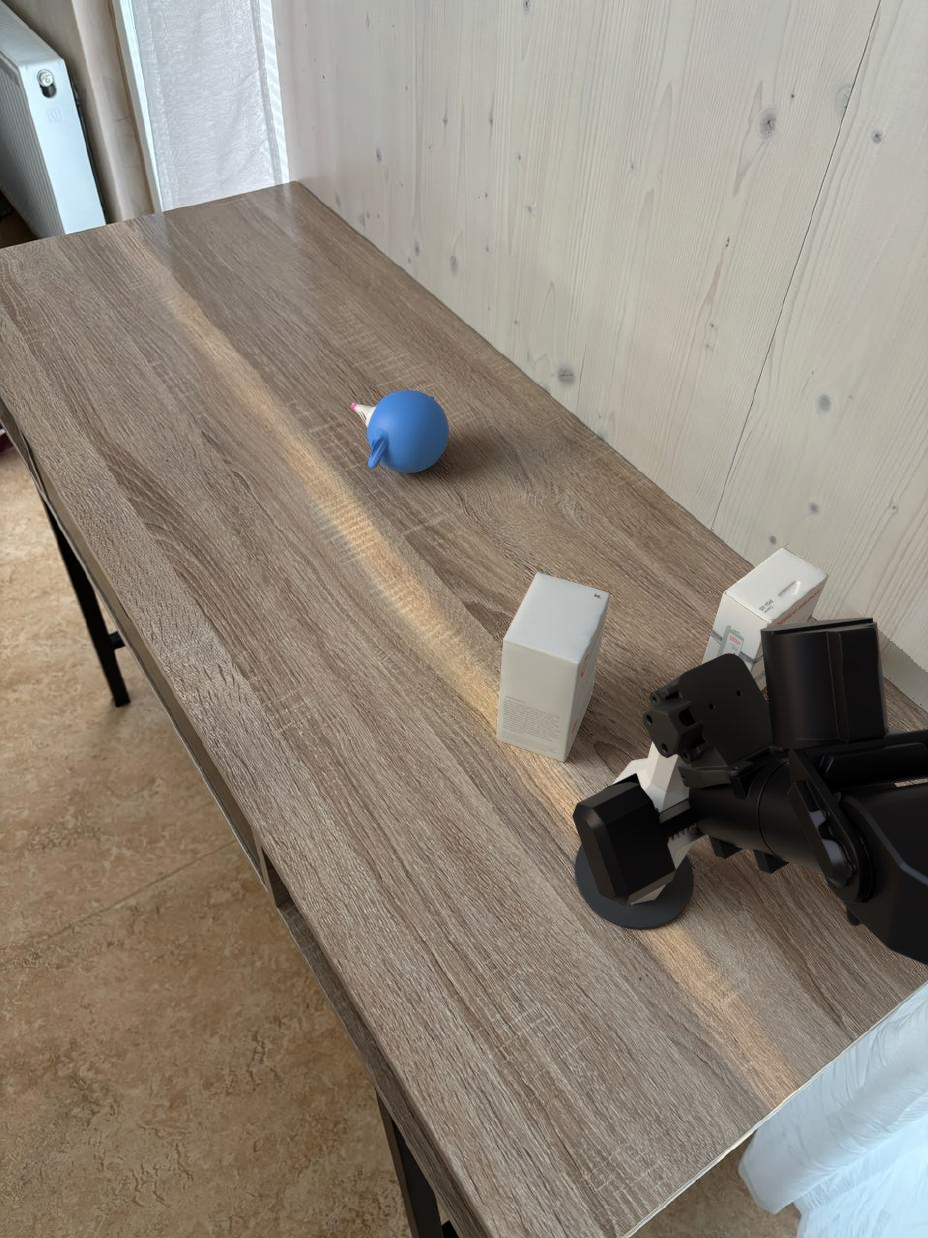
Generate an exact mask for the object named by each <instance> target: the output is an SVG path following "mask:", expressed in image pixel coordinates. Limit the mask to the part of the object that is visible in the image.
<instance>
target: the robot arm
mask: <svg viewBox="0 0 928 1238" xmlns="http://www.w3.org/2000/svg"><path fill="white" fill-rule="evenodd" d="M760 634H761V642H762V651H763V660H764V669H765V678H766V687H765V688H766V695H767V699H766V697H765V696H764V694H763V692H762V691H761V690H760V689H759V687H758V685H757V683H756V681H755V680H754V678H753V676H752V674H751V673H750V671H749V669H748V667H747V666H746V664H745V662H744V661H743V660H742V659H741V658H740V657H739V656H737V655H735V654H732V653H727V654H723V655H721V656H719V657H717V658H714V659H712V660H710V661H708V662H706V663H704V664H702V663H701V664H700V665H697V666H695V667H692V668H690V669H688V670H686V671H684V672H682V673H681V674H680V675H678V676H677V677H675V678H674V679H672V680H671V681H669V682H668V683H667V684H665V685H663V686H661V687H659V688H656V689H655V690H652V691H650V692H649V694H648V696H649V697H648V698H649V700H650V703H651V707H649V708H648V709H646V710H645V711H643V712H642V716H641V718H642V724H643V726H644V728H645V729H646V732H647V734H648V735H649V737H650V739H651V741H653V743H654V745H655V747H656V749H657V750H658V752H659V753H660V754H661V755H662V756H663V757H665V758H669V757H671V756H673V755H675V754H676V755H679V756H680V757H681V759H682V760H683V761H684V762H685V763H683V764H681V765H679V766H678V769H679V772H680V775H681V778H682V781H683V784H684V785H685V786H686V787H690V788H689V797H688V798H686V799H684V800H682V801H680V802H678V803H676V804H674V805H673V806H671V807H669V808H667V809H665V810H663V811H661V812H659V811H658V808H657V807H655V806H654V803H653V801H652V799H651V798H650V797H649V796H648V794H647V793H646V792H645V791H644V789H643V788H642V787H641V784H640V781H639V778H638V775H637V773H634V774H632V775H630V776H628V777H626V778H624V779H622V780H620V781H618V782H616V783H614V782H613V783H614V784H613V783H612V784H610V785H608V786H605V788H603V789H602V790H600V791H598V792H596V793H595V794H593V795H591V796H589V797H587V798H585V799H583V800H580V801H579V802H577V803H576V804H575V807H574V809H573V812H572V815H571V817H572V820H573V822H574V825H575V828H576V831H577V835H578V837H579V840H580V842H581V843H580V844H582V846H583V849H584V851H585V854H586V857H587V860H588V863H589V866H590V869H591V871H592V874H593V877H594V880H595V883H596V886H597V889H598V891H599V894H600V895H602V896H604V897H606V898H608V899H610V900H612V901H615V902H617V903H619V904H622V905H624V906H628V905H630V904H631V903H633V902H635V901H637V900H639V899H640V898H642V897H644V896H646V895H648V894H649V893H651V892H653V891H655V890H657V889H658V888H660V887H662V886H664V885H666V884H667V883H669V882H671V881H672V880H673V877H674V875H675V872H676V868H675V865H674V860H675V854H676V851H678V850H679V849H681V848H683V847H685V846H687V845H688V844H690V843H692V842H694V841H695V842H696V841H698V840H699V839H701V838H704V837H705V836H707V837H708V839H709V842H710V845H711V848H712V852H713V855H714V857H717V858H719V859H723V860H726V859H729V858H731V857H732V856H734V855H736V854H737V853H739V852H741V851H743V850H746V851H749V852H752V853H753V856H754V859H755V863H756V864H757V868H758V870H759V871H760V872H764V873H767V874H769V875H773V873H775V872H777V871H779V870H780V869H782V868H784V867H786V866H787V865H790V864H792V865H795V866H800V867H803V868H806V869H809V870H812V871H815V872H819V873H822V874H823V876H824V878H825V880H826V884H827V887H828V889H830V890H831V891H832V892H833V894H834V895H835V897H836V898H838V899H839V900H840V901H842V902H843V904H844V906H845V913H846V919H847V922H848V923H849V924H850V926H854V927H859V926H862V925H863V926H865V928H866V929H867V930H869V931H870V933H872V934H873V935H874V936H875V937H876V938H877V939H878V941H880V943H882V945H884V946H885V947H886V948H887V949H888V950H890V951H891V952H893V953H895V954H896V955H897V954H898V955H900V956H902V957H905V958H907V959H910V960H912V961H914V962H916V963H918V964H921V965H924V966H926V967H928V781H924V782H918V783H912V784H907V785H899V786H897V785H896V784H900V783H906V782H913V781H920V780H927V779H928V728H923V729H917V730H916V729H915V730H909V731H905V730H900V729H895V728H892V727H890V726H889V718H888V717H889V716H888V709H887V708H888V707H887V700H886V698H887V697H886V689H885V681H884V672H883V664H882V662H883V661H882V655H881V644H880V638H879V637H880V635H879V628H878V622H877V621H874V617H850V618H849V617H848V618H847V617H846V618H836V619H835V618H833V619H822V620H821V619H820V620H813V621H811V620H810V621H809V622H802V623H794V624H786V625H779V626H773V627H768V628H763V629H761V630H760ZM686 828H687V829H686ZM681 831H682V832H681ZM695 842H694V843H695Z"/></svg>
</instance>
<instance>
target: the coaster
mask: <svg viewBox="0 0 928 1238" xmlns="http://www.w3.org/2000/svg"><path fill="white" fill-rule="evenodd" d="M574 876H575V878H574V879H575V883H576V886H577V888H578V891H579V893H580V895H581V897H582V899H583V900H584V902H585V903H586V904H587V905H588V907H589V908H590V909H591V910H592V911H593V912H594V913H596V914H597V915H598V916H600V917H601V918H602V919H604V920H606V921H607V922H608V923H611V924H613V925H615V926H618V927H621V928H624V929H629V930H637V931H639V930H640V931H643V930H644V931H645V930H653V929H657V928H660V927H664V926H666V925H668V924H669V923H671V922H673V921H675V920H676V919H677V918H678V917H679V916H680V915H682V913H683V912H684V911H685V910H686V908H687V906H688V905H689V903H690V900H691V898H692V895H693V891H694V883H695V879H694V871H693V866H692V864H691V861H690V858H689V856H688V855H687V854H686V856H685V857H684V859H683V860H682V862H681V863H680V865H679V866H678V868H677V869H676V872H675V875H674V877H673V880H672V881H671V882H669V883H667V884H666V885H665V887H664V888H663V889H662V891H661V892H660V894H659V895H658V896H657V898H656V899H655V900H650V901H646V902H641V903H636V904H630V905H628V906H624V905H622V904H619V903H617V902H615V901H612V900H610V899H608V898H606V897H604V896H602V895H600V894H599V891H598V889H597V886H596V883H595V880H594V877H593V874H592V871H591V869H590V866H589V863H588V860H587V857H586V854H585V851H584V849H583V846H582V843H580V846H579V848H578V850H577V853H576V856H575V861H574Z"/></svg>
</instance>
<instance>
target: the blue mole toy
mask: <svg viewBox="0 0 928 1238" xmlns="http://www.w3.org/2000/svg"><path fill="white" fill-rule="evenodd" d="M350 407H351V410H352V411H354V412H356V413H357V414H358V416H359V417H360V418H361V420H362V422H363V423H364V424H365V427H366V437H367V441H368V446H369V448H370V455H369V458H368V462H367V466H368V469H370V470H374V469H376V468H377V467H378V466H379V464H380V463H381V464H382V465H383V466H385V467H386V468H388V469H389V470H391V471H394V472H398V473H403V474H414V473H415V474H416V473H420V472H422V471H425V470H428V469H429V468H431V467H432V466H433V465H435V464H436V463H437V462H438V461H439V460H440V458H441V457H442V455H443V454H444V452H445V451H446V448H447V445H448V441H449V438H450V437H449V436H450V425H449V421H448V417H447V414H446V412H445V411H444V409H443V407H442V406H441V405H440V404H439V403H438V401H436V400H435V397H434V396H432V395H429V394H427V393H425V392H422V391H419V390H415V389H402V390H396V391H394V392H393V391H392V392H390V393H389V394H387V395H385V396H384V397H383V398H381V399H380V400H379V402H378V403H377V405H375V406H370V405H366V404H361V403H359V402H357V401H356V402H352V403H351V405H350Z"/></svg>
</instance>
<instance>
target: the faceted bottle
mask: <svg viewBox="0 0 928 1238" xmlns="http://www.w3.org/2000/svg"><path fill="white" fill-rule="evenodd" d="M651 741H652V740H651ZM683 763H685V762H684V761H683V760H682V759H681V757H680V756H679V755H676V754H675V755H673V756H671V757H669V758H665V757H663V756H662V755H661V754H660V753H659V752H658V750H657V749H656V747H655V745H654V743H653V741H652V742H651V745H650V749H649V752H648V755H647V757H645V758H640V759H634V760H631V761H630V762H629V763H628V764H627V765H626V767H625V768H624V769H623V771H622V772H620V774H619V775H618V777H616V779H614V781H613V782H612V784H614V783H616V782H618V781H620V780H622V779H624V778H626V777H628V776H630V775H632V774H634V773H637V775H638V778H639V781H640V784H641V787H642V788H643V789H644V791H645V792H646V793H647V794H648V796H649V797H650V798H651V799H652V801H653V803H654V806H655V807H657V808H658V811H659V812H661V811H663V810H665V809H667V808H669V807H671V806H673V805H674V804H676V803H678V802H680V801H682V800H684V799H686V798H688V797H689V788H690V787H686V786H685V785H684V784H683V781H682V778H681V775H680V772H679V769H678V766H679V765H681V764H683ZM686 829H687V828H686ZM681 832H682V831H681ZM695 842H696V841H694V842H692V843H690V844H688V845H687V846H685V847H683V848H681V849H679V850H678V851H676V854H675V860H674V865H675V868H676V869H677V868H678V866H679V865H680V863H681V862H682V860H683V859H684V857H685V856H686V855H687V854H688V853H689V851H690V850H691V848H692V847H693V845H694V844H695ZM664 887H665V885H664V886H662V887H660V888H658V889H657V890H655V891H653V892H651V893H649V894H648V895H646V896H644V897H642V898H640V899H639V900H637V901H635V902H633V903H631V904H636V903H641V902H646V901H650V900H655V899H656V898H657V896H658V895H659V894H660V892H661V891H662V889H663V888H664Z"/></svg>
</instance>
